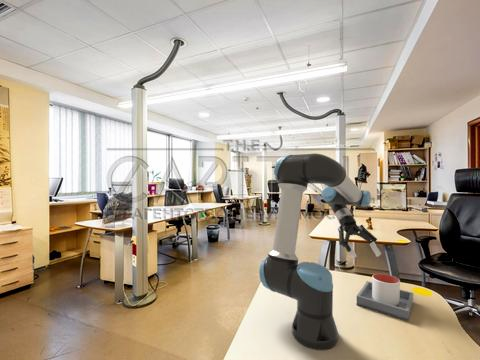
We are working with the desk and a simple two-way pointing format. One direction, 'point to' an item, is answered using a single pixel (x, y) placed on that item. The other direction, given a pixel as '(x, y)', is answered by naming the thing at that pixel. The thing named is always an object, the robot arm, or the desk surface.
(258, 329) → the desk surface
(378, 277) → the cup
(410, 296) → the tray
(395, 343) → the desk surface
